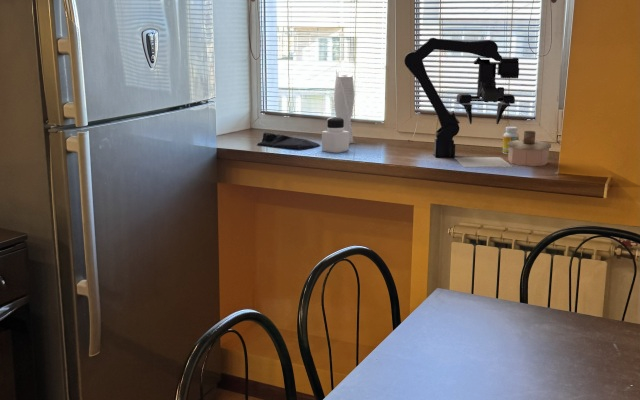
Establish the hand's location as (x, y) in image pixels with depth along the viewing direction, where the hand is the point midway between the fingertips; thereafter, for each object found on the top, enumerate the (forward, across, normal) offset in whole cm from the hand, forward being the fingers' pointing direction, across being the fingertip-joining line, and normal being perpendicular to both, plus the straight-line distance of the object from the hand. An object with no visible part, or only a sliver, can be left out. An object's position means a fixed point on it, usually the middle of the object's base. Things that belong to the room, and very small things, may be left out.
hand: (483, 124), depth 261 cm
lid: (+6, +13, -10) cm, 17 cm away
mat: (+12, -2, -9) cm, 15 cm away
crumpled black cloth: (+13, -67, +27) cm, 74 cm away
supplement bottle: (+12, +12, +8) cm, 19 cm away
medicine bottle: (+12, -50, +16) cm, 54 cm away
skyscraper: (+12, -46, +33) cm, 58 cm away
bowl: (+12, +13, -10) cm, 20 cm away
